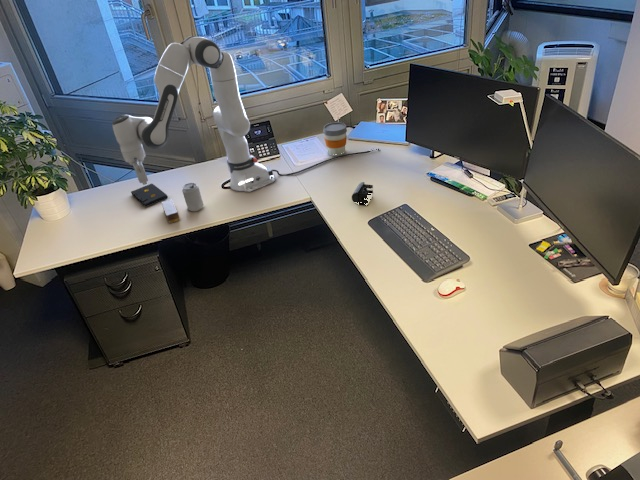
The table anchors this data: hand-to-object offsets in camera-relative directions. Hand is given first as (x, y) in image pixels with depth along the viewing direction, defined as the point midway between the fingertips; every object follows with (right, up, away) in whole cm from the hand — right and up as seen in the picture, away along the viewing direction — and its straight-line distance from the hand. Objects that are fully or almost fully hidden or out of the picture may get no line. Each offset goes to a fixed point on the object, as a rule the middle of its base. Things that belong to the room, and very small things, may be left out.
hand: (144, 183), depth 203 cm
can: (+18, -10, +16) cm, 26 cm away
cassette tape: (-9, -3, +29) cm, 31 cm away
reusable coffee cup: (+86, +23, +51) cm, 103 cm away
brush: (+8, -13, +12) cm, 20 cm away
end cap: (+96, -7, +8) cm, 97 cm away
